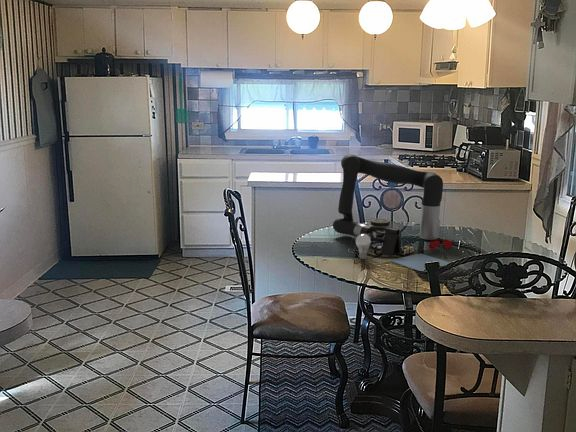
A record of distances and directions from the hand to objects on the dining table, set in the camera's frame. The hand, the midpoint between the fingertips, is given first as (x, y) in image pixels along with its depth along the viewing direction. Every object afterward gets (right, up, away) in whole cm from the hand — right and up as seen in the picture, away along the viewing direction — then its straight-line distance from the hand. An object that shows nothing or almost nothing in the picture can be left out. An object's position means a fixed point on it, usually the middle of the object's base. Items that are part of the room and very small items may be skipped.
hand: (388, 239), depth 279 cm
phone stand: (+1, -6, 0) cm, 7 cm away
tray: (+12, -10, -15) cm, 22 cm away
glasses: (+29, -7, +1) cm, 29 cm away
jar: (+1, +1, +32) cm, 32 cm away
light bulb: (-14, -9, -10) cm, 19 cm away
